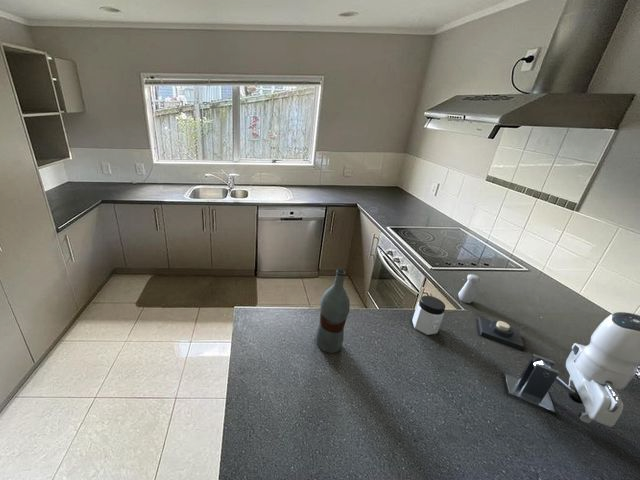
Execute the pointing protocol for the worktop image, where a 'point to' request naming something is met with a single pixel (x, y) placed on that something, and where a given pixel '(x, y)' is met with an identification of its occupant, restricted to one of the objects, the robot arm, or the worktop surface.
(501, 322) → the button
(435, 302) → the jar
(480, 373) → the worktop surface
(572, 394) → the toaster lever
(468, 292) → the salt shaker
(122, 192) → the worktop surface
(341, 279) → the bottle
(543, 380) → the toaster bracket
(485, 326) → the button housing
